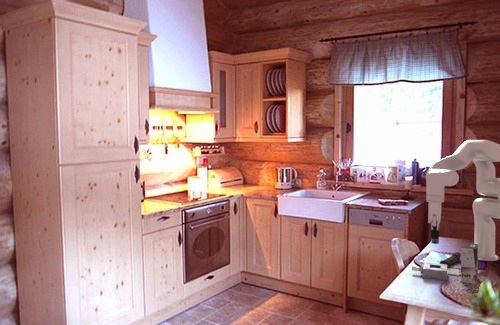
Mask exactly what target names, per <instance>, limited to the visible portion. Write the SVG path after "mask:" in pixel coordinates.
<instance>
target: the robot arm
mask: <svg viewBox="0 0 500 325" xmlns="http://www.w3.org/2000/svg"><path fill="white" fill-rule="evenodd" d="M499 162H500V144H499V143H497V142H494V141H492V140H488V139H467V140H466V141H464V142H463V143H462V144H460V145H459V147H457V149H456V150H455V151H454V152H453V153H452V155H448V156H446V157H444V158H442V159H439V160H438V161H435V162H434V163H433V164H432V165H430V167H429V168H428V170H427V171H426V172H425V181H426V182H425V185H426V186H425V189H426V192H425V193H426V195H425V196H426V197H425V198H426V201H425V202H428V209H427V210H428V215H427V217H428V218H427V220H428V221H427V223H428V224H431V223H432V230H430V235H431V236H430V238H432V239H439V240H440V229H439V230H438V224H439V225H440V223H441V218H442V203H444V202H445V187H453V186H455V185H457V184H458V183H459V179H460V177H459V174H458V173H457V171H459V170H463V169H465V168H467V167H468V166H469V165H470V164H471V163H473V164H474V165H475V168H476V183H475V184H476V185H475V186H476V188H475V189H476V193H477V194H479V195H480V196H485V197H479V198H475V199H474V201H473V203H472V211H473V217H474V229H473V230H474V235H473V236H474V239H473V240H474V241H473V242H474V243H473V244H478V261H482V262H483V261H484V262H494V261H495V262H496V261H498V260H499V256H498V255H496V224H495V221H494V220H493V219H500V177H496V166H495V165H494V163H499ZM486 196H487V197H493V198H487V197H486ZM494 197H495V198H494ZM496 198H497V199H496Z"/></svg>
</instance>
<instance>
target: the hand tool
mask: <svg viewBox="0 0 500 325" xmlns="http://www.w3.org/2000/svg"><path fill="white" fill-rule="evenodd" d="M459 261H461V252H459V251H456V252H453V253H452V255H451V256H449V257H448V258H445V259H444V260H440V261H439V264H447V268H449V266H451V265H453V264H455V263H459Z"/></svg>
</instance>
